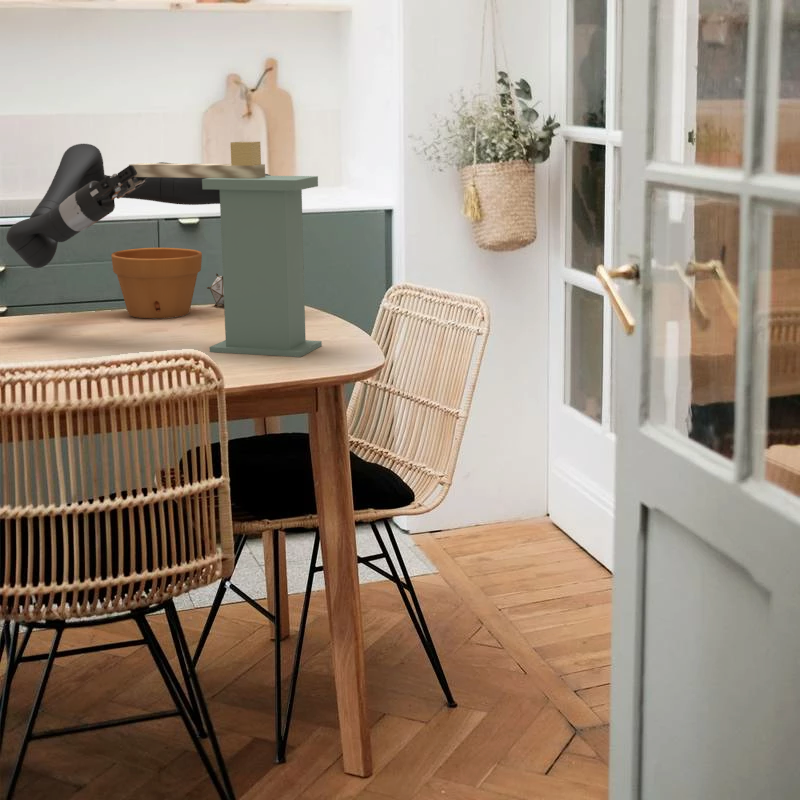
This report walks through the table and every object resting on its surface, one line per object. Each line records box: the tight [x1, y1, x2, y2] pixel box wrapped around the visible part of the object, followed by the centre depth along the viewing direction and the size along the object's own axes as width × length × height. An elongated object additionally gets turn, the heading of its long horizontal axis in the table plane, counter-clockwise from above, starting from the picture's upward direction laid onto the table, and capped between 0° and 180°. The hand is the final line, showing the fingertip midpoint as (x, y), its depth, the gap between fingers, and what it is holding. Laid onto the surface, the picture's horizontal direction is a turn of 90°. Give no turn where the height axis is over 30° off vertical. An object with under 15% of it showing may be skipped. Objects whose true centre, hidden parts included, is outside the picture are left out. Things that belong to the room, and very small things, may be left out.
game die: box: [206, 272, 224, 307], centre depth 321 cm, size 9×8×10 cm
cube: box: [230, 141, 262, 166], centre depth 260 cm, size 4×4×4 cm
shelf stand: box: [202, 175, 323, 358], centre depth 264 cm, size 20×12×35 cm, turn 73°
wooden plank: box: [128, 162, 266, 178], centre depth 264 cm, size 28×5×2 cm, turn 73°
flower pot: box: [110, 247, 203, 319], centre depth 310 cm, size 21×21×15 cm
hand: (144, 168), depth 267 cm, fingers open, 8 cm apart
